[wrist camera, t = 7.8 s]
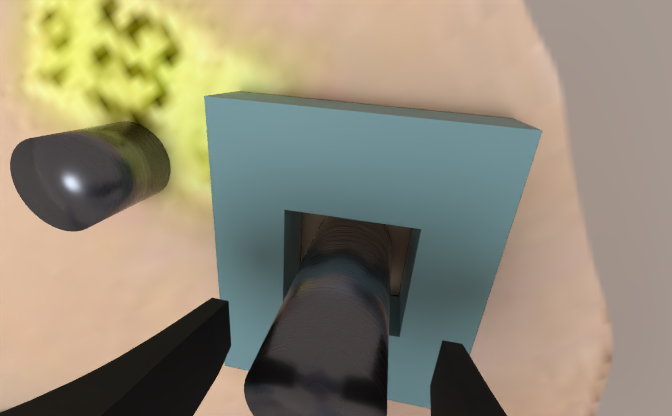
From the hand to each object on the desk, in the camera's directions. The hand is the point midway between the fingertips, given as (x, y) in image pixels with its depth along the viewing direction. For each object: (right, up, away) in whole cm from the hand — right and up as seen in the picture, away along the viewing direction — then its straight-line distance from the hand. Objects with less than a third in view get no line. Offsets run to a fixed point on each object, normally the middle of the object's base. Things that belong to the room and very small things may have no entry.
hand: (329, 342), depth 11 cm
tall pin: (+1, +2, +6) cm, 7 cm away
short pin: (-10, +7, +6) cm, 14 cm away
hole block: (+1, +3, +6) cm, 7 cm away
